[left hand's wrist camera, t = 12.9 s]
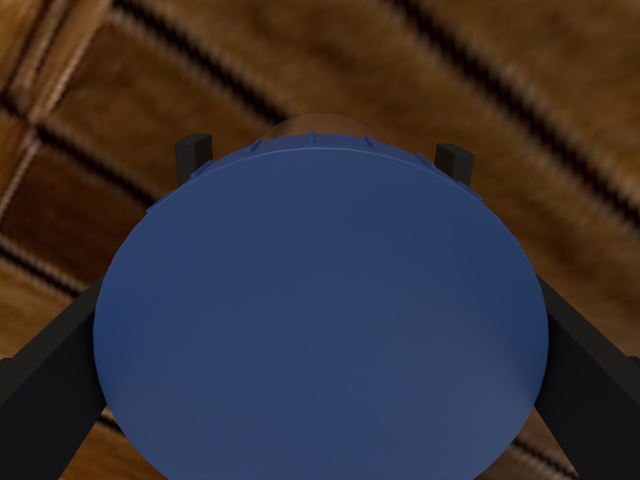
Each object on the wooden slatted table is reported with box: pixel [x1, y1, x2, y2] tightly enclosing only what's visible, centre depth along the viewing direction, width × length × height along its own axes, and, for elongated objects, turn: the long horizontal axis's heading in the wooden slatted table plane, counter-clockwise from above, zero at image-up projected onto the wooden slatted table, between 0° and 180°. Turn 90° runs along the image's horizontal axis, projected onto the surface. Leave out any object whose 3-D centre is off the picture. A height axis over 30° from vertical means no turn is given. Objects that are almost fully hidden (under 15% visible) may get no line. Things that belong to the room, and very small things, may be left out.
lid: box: [93, 130, 549, 480], centre depth 12 cm, size 11×11×2 cm
